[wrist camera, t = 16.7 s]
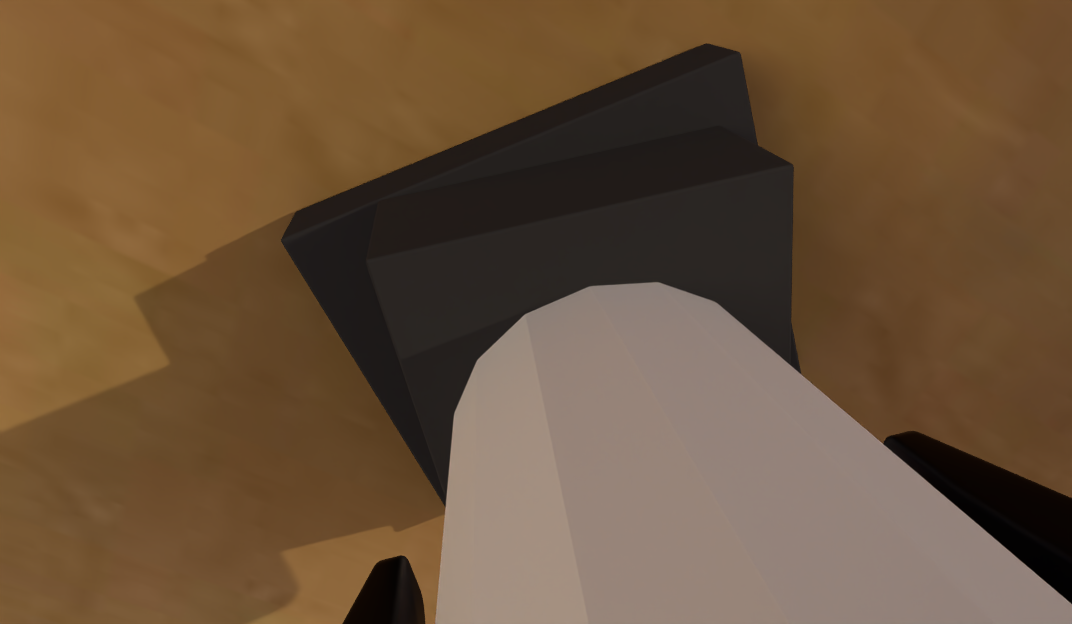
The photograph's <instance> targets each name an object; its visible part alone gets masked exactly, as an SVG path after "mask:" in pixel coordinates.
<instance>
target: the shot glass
mask: <svg viewBox="0 0 1072 624" xmlns="http://www.w3.org/2000/svg"><path fill="white" fill-rule="evenodd" d="M435 624H1072V604H1071V603H1070V602H1069V601H1068V600H1066V599H1065V598H1064V597H1063V596H1062V595H1060V594H1059V593H1058V592H1057V591H1056V590H1055V589H1053V588H1052V587H1051V586H1050V585H1049V584H1047V583H1046V582H1045V581H1044V580H1043V579H1042V578H1040V577H1039V576H1038V575H1037V574H1036V573H1035V572H1033V571H1032V570H1031V569H1030V568H1029V567H1027V566H1026V565H1025V564H1024V563H1023V562H1022V561H1020V560H1019V559H1018V558H1017V557H1016V556H1014V555H1013V554H1012V553H1011V552H1010V551H1009V550H1007V549H1006V548H1005V547H1004V546H1003V545H1002V544H1000V543H999V542H998V541H997V540H996V539H994V538H993V537H992V536H991V535H990V534H989V533H987V532H986V531H985V530H984V529H983V528H981V527H980V526H979V525H978V524H977V523H976V522H974V521H973V520H972V519H971V518H970V517H969V516H967V515H966V514H965V513H964V512H963V511H961V510H960V509H959V508H958V507H957V506H956V505H954V504H953V503H952V502H951V501H950V500H948V499H947V498H946V497H945V496H944V495H943V494H941V493H940V492H939V491H938V490H937V489H936V488H934V487H933V486H932V485H931V484H930V483H928V482H927V481H926V480H925V479H924V478H923V477H921V476H920V475H919V474H918V473H917V472H915V471H914V470H913V469H912V468H911V467H910V466H908V465H907V464H906V463H905V462H904V461H903V460H901V459H900V458H899V457H898V456H897V455H895V454H894V453H893V452H892V451H891V450H890V449H888V448H887V447H886V446H885V445H884V444H882V443H881V442H880V441H879V440H878V439H877V438H875V437H874V436H873V435H872V434H871V433H870V432H868V431H867V430H866V429H865V428H864V427H862V426H861V425H860V424H859V423H858V422H857V421H855V420H854V419H853V418H852V417H851V416H849V415H848V414H847V413H846V412H845V411H844V410H842V409H841V408H840V407H839V406H838V405H837V404H835V403H834V402H833V401H832V400H831V399H829V398H828V397H827V396H826V395H825V394H824V393H822V392H821V391H820V390H819V389H818V388H816V387H815V386H814V385H813V384H812V383H811V382H809V381H808V380H807V379H806V378H805V377H804V376H802V375H801V374H800V373H799V372H798V371H796V370H795V369H794V368H793V367H792V366H791V365H789V364H788V363H787V362H786V361H785V360H783V359H782V358H781V357H780V356H779V355H778V354H776V353H775V352H774V351H773V350H772V349H771V348H769V347H768V346H767V345H766V344H765V343H763V342H762V341H761V340H760V339H759V338H758V337H756V336H755V335H754V334H753V333H752V332H750V331H749V330H748V329H747V328H746V327H745V326H743V325H742V324H741V323H740V322H739V321H738V320H736V319H735V318H734V317H733V316H732V315H730V314H729V313H728V312H727V311H726V310H725V309H723V308H722V307H721V306H720V305H719V304H717V303H716V302H714V301H711V300H708V299H705V298H703V297H700V296H697V295H694V294H691V293H688V292H685V291H682V290H679V289H676V288H674V287H671V286H668V285H665V284H662V283H659V282H653V283H636V284H619V285H601V286H589V287H587V288H585V289H582V290H580V291H578V292H575V293H573V294H571V295H568V296H566V297H564V298H561V299H559V300H557V301H554V302H552V303H550V304H548V305H545V306H543V307H541V308H538V309H536V310H534V311H531V312H529V313H527V314H525V315H524V316H523V317H522V318H521V319H520V320H519V321H518V322H516V323H515V324H514V325H513V326H512V327H511V328H510V329H509V330H508V331H507V332H506V333H505V334H504V335H503V336H502V337H501V338H500V339H499V340H498V341H497V342H496V343H494V344H493V345H492V346H491V347H490V348H489V349H488V350H487V351H486V352H485V353H484V354H483V355H482V356H481V357H480V358H479V359H478V360H477V362H476V364H475V366H474V369H473V371H472V373H471V376H470V378H469V380H468V383H467V385H466V387H465V389H464V392H463V394H462V396H461V399H460V401H459V403H458V406H457V408H456V410H455V413H454V420H453V431H452V443H451V454H450V465H449V476H448V487H447V498H446V509H445V520H444V531H443V543H442V554H441V565H440V576H439V587H438V598H437V609H436V620H435Z"/></svg>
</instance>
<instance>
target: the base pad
mask: <svg viewBox="0 0 1072 624" xmlns="http://www.w3.org/2000/svg"><path fill="white" fill-rule="evenodd" d="M715 126H722V127H724V128H726V129H728V130H730V131H732V132H733V133H735V134H737V135H739V136H741V137H743V138H745V139H746V140H748V141H750V142H752V143H754V144H756V145H758V144H757V138H756V133H755V128H754V123H753V117H752V112H751V107H750V101H749V96H748V91H747V86H746V80H745V75H744V70H743V64H742V59H741V54H740V53H739V52H737V51H733V50H730V49H726V48H722V47H718V46H715V45H711V44H703V45H701V46H699V47H696V48H694V49H691V50H689V51H686V52H684V53H682V54H679V55H677V56H674V57H672V58H669V59H667V60H664V61H662V62H660V63H657V64H655V65H652V66H650V67H647V68H645V69H643V70H640V71H638V72H635V73H633V74H630V75H628V76H626V77H623V78H621V79H618V80H616V81H613V82H611V83H608V84H606V85H604V86H601V87H599V88H596V89H594V90H591V91H589V92H587V93H584V94H582V95H579V96H577V97H574V98H572V99H570V100H567V101H565V102H562V103H560V104H557V105H555V106H552V107H550V108H548V109H545V110H543V111H540V112H538V113H535V114H533V115H531V116H528V117H526V118H523V119H521V120H518V121H516V122H514V123H511V124H509V125H506V126H504V127H501V128H499V129H496V130H494V131H492V132H489V133H487V134H484V135H482V136H479V137H477V138H475V139H472V140H470V141H467V142H465V143H462V144H460V145H457V146H455V147H453V148H450V149H448V150H445V151H443V152H440V153H438V154H436V155H433V156H431V157H428V158H426V159H423V160H421V161H419V162H416V163H414V164H411V165H409V166H406V167H404V168H401V169H399V170H397V171H394V172H392V173H389V174H387V175H384V176H382V177H380V178H377V179H375V180H372V181H370V182H367V183H365V184H363V185H360V186H358V187H355V188H353V189H350V190H348V191H345V192H343V193H341V194H338V195H336V196H333V197H331V198H328V199H326V200H324V201H321V202H319V203H316V204H314V205H311V206H309V207H307V208H304V209H302V210H299V211H297V212H296V213H295V215H294V216H293V218H292V220H291V222H290V224H289V226H288V228H287V229H286V231H285V233H284V235H283V237H282V239H281V242H282V244H283V245H284V247H285V249H286V250H287V252H288V253H289V255H290V257H291V258H292V260H293V261H294V263H295V265H296V266H297V268H298V270H299V271H300V273H301V274H302V276H303V278H304V279H305V281H306V282H307V284H308V286H309V287H310V289H311V291H312V292H313V294H314V295H315V297H316V299H317V300H318V302H319V303H320V305H321V307H322V308H323V310H324V312H325V313H326V315H327V316H328V318H329V320H330V321H331V323H332V324H333V326H334V328H335V329H336V331H337V333H338V334H339V336H340V337H341V339H342V341H343V342H344V344H345V345H346V347H347V349H348V350H349V352H350V354H351V355H352V357H353V358H354V360H355V362H356V363H357V365H358V366H359V368H360V370H361V371H362V373H363V375H364V376H365V378H366V379H367V381H368V383H369V384H370V386H371V387H372V389H373V391H374V392H375V394H376V396H377V397H378V399H379V400H380V402H381V404H382V405H383V407H384V408H385V410H386V412H387V413H388V415H389V417H390V418H391V420H392V421H393V423H394V425H395V426H396V428H397V430H398V431H399V433H400V434H401V436H402V438H403V439H404V441H405V442H406V444H407V446H408V447H409V449H410V451H411V452H412V454H413V455H414V457H415V459H416V460H417V462H418V463H419V465H420V467H421V468H422V470H423V472H424V473H425V475H426V476H427V478H428V480H429V481H430V483H431V484H432V486H433V488H434V489H435V491H436V493H437V494H438V496H439V497H440V499H441V501H442V502H443V504H444V505H445V507H446V498H445V495H444V492H443V489H442V486H441V483H440V480H439V477H438V474H437V471H436V468H435V465H434V463H433V460H432V457H431V454H430V451H429V448H428V445H427V442H426V439H425V436H424V433H423V430H422V427H421V424H420V421H419V418H418V415H417V412H416V409H415V406H414V404H413V401H412V398H411V395H410V392H409V389H408V386H407V383H406V380H405V377H404V374H403V371H402V368H401V365H400V362H399V359H398V356H397V353H396V350H395V348H394V345H393V342H392V339H391V336H390V333H389V330H388V327H387V324H386V321H385V318H384V315H383V312H382V309H381V306H380V303H379V300H378V297H377V294H376V292H375V289H374V286H373V283H372V280H371V277H370V274H369V271H368V268H367V265H366V257H367V253H368V248H369V243H370V239H371V234H372V229H373V224H374V220H375V215H376V210H377V205H378V201H380V200H384V199H388V198H393V197H398V196H402V195H407V194H411V193H416V192H420V191H425V190H429V189H434V188H438V187H443V186H447V185H452V184H456V183H461V182H465V181H470V180H474V179H479V178H484V177H488V176H493V175H497V174H502V173H506V172H511V171H515V170H520V169H524V168H529V167H533V166H538V165H542V164H547V163H551V162H556V161H561V160H565V159H570V158H574V157H579V156H583V155H588V154H592V153H597V152H601V151H606V150H610V149H615V148H619V147H624V146H628V145H633V144H638V143H642V142H647V141H651V140H656V139H660V138H665V137H669V136H674V135H678V134H683V133H687V132H692V131H696V130H701V129H705V128H710V127H715ZM790 365H791V366H792V367H793V368H794V369H795V370H796V371H798V372H799V373H800V374H801V371H800V366H799V360H798V355H797V350H796V345H795V339H794V334H793V329H792V323H791V358H790Z"/></svg>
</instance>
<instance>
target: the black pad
mask: <svg viewBox="0 0 1072 624" xmlns="http://www.w3.org/2000/svg"><path fill="white" fill-rule="evenodd" d="M793 172H794V167H793V165H792V164H791V163H789V162H787V161H785V160H784V159H782V158H780V157H778V156H776V155H774V154H772V153H771V152H769V151H767V150H765V149H763V148H761V147H759V146H758V145H756V144H754V143H752V142H750V141H748V140H746V139H745V138H743V137H741V136H739V135H737V134H735V133H733V132H732V131H730V130H728V129H726V128H724V127H722V126H715V127H710V128H705V129H701V130H696V131H692V132H687V133H683V134H678V135H674V136H669V137H665V138H660V139H656V140H651V141H647V142H642V143H638V144H633V145H628V146H624V147H619V148H615V149H610V150H606V151H601V152H597V153H592V154H588V155H583V156H579V157H574V158H570V159H565V160H561V161H556V162H551V163H547V164H542V165H538V166H533V167H529V168H524V169H520V170H515V171H511V172H506V173H502V174H497V175H493V176H488V177H484V178H479V179H474V180H470V181H465V182H461V183H456V184H452V185H447V186H443V187H438V188H434V189H429V190H425V191H420V192H416V193H411V194H407V195H402V196H398V197H393V198H388V199H384V200H380V201H378V205H377V210H376V215H375V220H374V224H373V229H372V234H371V239H370V243H369V248H368V253H367V257H366V265H367V268H368V271H369V274H370V277H371V280H372V283H373V286H374V289H375V292H376V294H377V297H378V300H379V303H380V306H381V309H382V312H383V315H384V318H385V321H386V324H387V327H388V330H389V333H390V336H391V339H392V342H393V345H394V348H395V350H396V353H397V356H398V359H399V362H400V365H401V368H402V371H403V374H404V377H405V380H406V383H407V386H408V389H409V392H410V395H411V398H412V401H413V404H414V406H415V409H416V412H417V415H418V418H419V421H420V424H421V427H422V430H423V433H424V436H425V439H426V442H427V445H428V448H429V451H430V454H431V457H432V460H433V463H434V465H435V468H436V471H437V474H438V477H439V480H440V483H441V486H442V489H443V492H444V495H445V498H447V487H448V476H449V465H450V454H451V443H452V431H453V420H454V413H455V410H456V408H457V406H458V403H459V401H460V399H461V396H462V394H463V392H464V389H465V387H466V385H467V383H468V380H469V378H470V376H471V373H472V371H473V369H474V366H475V364H476V362H477V360H478V359H479V358H480V357H481V356H482V355H483V354H484V353H485V352H486V351H487V350H488V349H489V348H490V347H491V346H492V345H493V344H494V343H496V342H497V341H498V340H499V339H500V338H501V337H502V336H503V335H504V334H505V333H506V332H507V331H508V330H509V329H510V328H511V327H512V326H513V325H514V324H515V323H516V322H518V321H519V320H520V319H521V318H522V317H523V316H524V315H525V314H527V313H529V312H531V311H534V310H536V309H538V308H541V307H543V306H545V305H548V304H550V303H552V302H554V301H557V300H559V299H561V298H564V297H566V296H568V295H571V294H573V293H575V292H578V291H580V290H582V289H585V288H587V287H589V286H601V285H619V284H636V283H653V282H659V283H662V284H665V285H668V286H671V287H674V288H676V289H679V290H682V291H685V292H688V293H691V294H694V295H697V296H700V297H703V298H705V299H708V300H711V301H714V302H716V303H717V304H719V305H720V306H721V307H722V308H723V309H725V310H726V311H727V312H728V313H729V314H730V315H732V316H733V317H734V318H735V319H736V320H738V321H739V322H740V323H741V324H742V325H743V326H745V327H746V328H747V329H748V330H749V331H750V332H752V333H753V334H754V335H755V336H756V337H758V338H759V339H760V340H761V341H762V342H763V343H765V344H766V345H767V346H768V347H769V348H771V349H772V350H773V351H774V352H775V353H776V354H778V355H779V356H780V357H781V358H782V359H783V360H785V361H786V362H787V363H788V364H789V365H790V358H791V296H792V234H793Z"/></svg>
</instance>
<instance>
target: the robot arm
mask: <svg viewBox="0 0 1072 624" xmlns="http://www.w3.org/2000/svg"><path fill="white" fill-rule="evenodd" d="M884 445H885V446H886V447H887V448H888V449H890V450H891V451H892V452H893V453H894V454H895V455H897V456H898V457H899V458H900V459H901V460H903V461H904V462H905V463H906V464H907V465H908V466H910V467H911V468H912V469H913V470H914V471H915V472H917V473H918V474H919V475H920V476H921V477H923V478H924V479H925V480H926V481H927V482H928V483H930V484H931V485H932V486H933V487H934V488H936V489H937V490H938V491H939V492H940V493H941V494H943V495H944V496H945V497H946V498H947V499H948V500H950V501H951V502H952V503H953V504H954V505H956V506H957V507H958V508H959V509H960V510H961V511H963V512H964V513H965V514H966V515H967V516H969V517H970V518H971V519H972V520H973V521H974V522H976V523H977V524H978V525H979V526H980V527H981V528H983V529H984V530H985V531H986V532H987V533H989V534H990V535H991V536H992V537H993V538H994V539H996V540H997V541H998V542H999V543H1000V544H1002V545H1003V546H1004V547H1005V548H1006V549H1007V550H1009V551H1010V552H1011V553H1012V554H1013V555H1014V556H1016V557H1017V558H1018V559H1019V560H1020V561H1022V562H1023V563H1024V564H1025V565H1026V566H1027V567H1029V568H1030V569H1031V570H1032V571H1033V572H1035V573H1036V574H1037V575H1038V576H1039V577H1040V578H1042V579H1043V580H1044V581H1045V582H1046V583H1047V584H1049V585H1050V586H1051V587H1052V588H1053V589H1055V590H1056V591H1057V592H1058V593H1059V594H1060V595H1062V596H1063V597H1064V598H1065V599H1066V600H1068V601H1069V602H1070V603H1071V604H1072V498H1070V497H1068V496H1065V495H1063V494H1061V493H1058V492H1056V491H1054V490H1051V489H1049V488H1047V487H1045V486H1042V485H1040V484H1038V483H1035V482H1033V481H1031V480H1028V479H1026V478H1024V477H1021V476H1019V475H1017V474H1014V473H1012V472H1010V471H1007V470H1005V469H1003V468H1000V467H998V466H996V465H993V464H991V463H989V462H986V461H984V460H982V459H980V458H977V457H975V456H973V455H970V454H968V453H966V452H963V451H961V450H959V449H956V448H954V447H952V446H949V445H947V444H945V443H942V442H940V441H938V440H935V439H933V438H931V437H928V436H926V435H924V434H921V433H919V432H915V431H908V432H904V433H900V434H896V435H891V436H889V437H887V438H886V440H885V441H884ZM343 624H425V614H424V604H423V598H422V594H421V591H420V588H419V585H418V583H417V580H416V578H415V575H414V573H413V570H412V568H411V565H410V563H409V561H408V559H407V558H406V557H405V556H397V557H393V558H389V559H384V560H381V561H379V562H378V563H377V564H376V565H375V566H374V568H373V569H372V571H371V573H370V575H369V577H368V578H367V580H366V582H365V584H364V586H363V588H362V589H361V591H360V593H359V595H358V597H357V598H356V600H355V602H354V604H353V606H352V607H351V609H350V611H349V613H348V615H347V616H346V618H345V620H344V622H343Z"/></svg>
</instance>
